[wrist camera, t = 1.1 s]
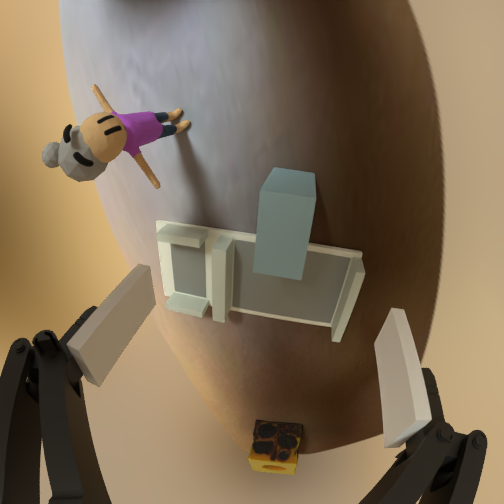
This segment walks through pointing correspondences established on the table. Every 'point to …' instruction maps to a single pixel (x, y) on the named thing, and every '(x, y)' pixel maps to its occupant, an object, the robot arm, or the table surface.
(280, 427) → the yellow tissue box
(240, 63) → the table surface
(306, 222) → the grey-blue block
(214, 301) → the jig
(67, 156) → the toy
